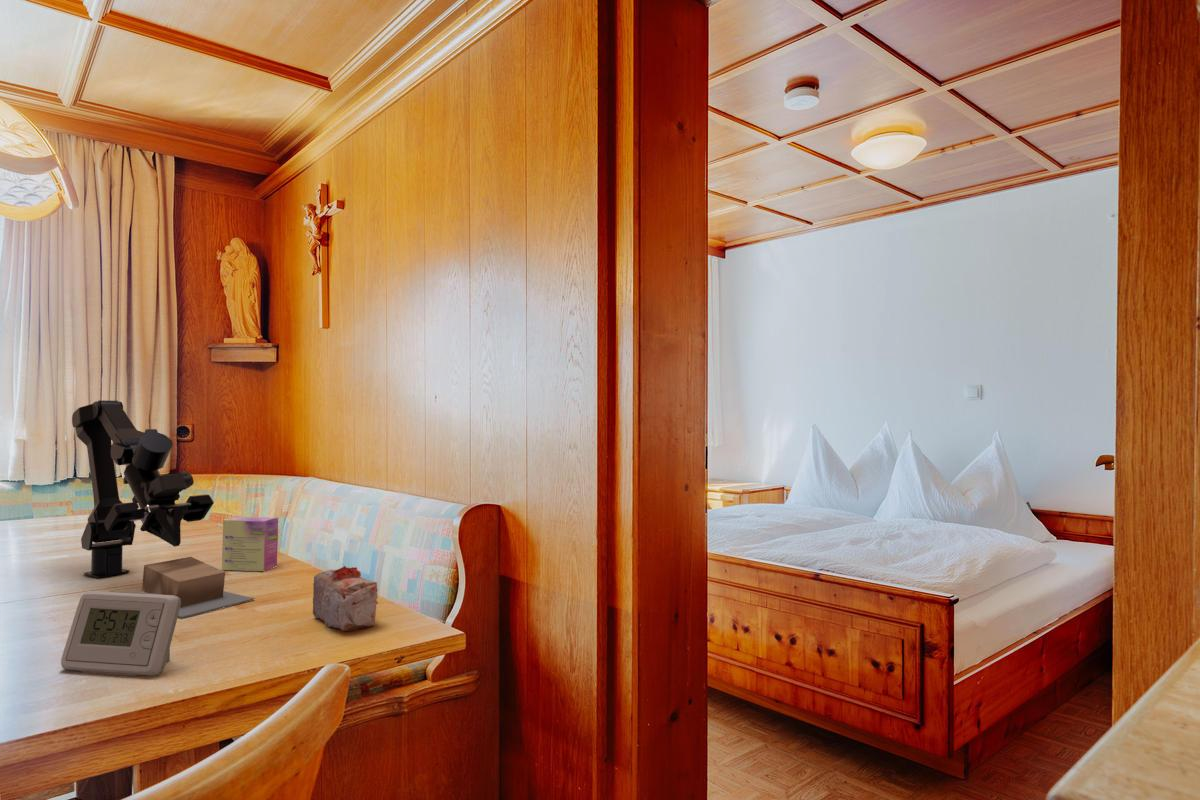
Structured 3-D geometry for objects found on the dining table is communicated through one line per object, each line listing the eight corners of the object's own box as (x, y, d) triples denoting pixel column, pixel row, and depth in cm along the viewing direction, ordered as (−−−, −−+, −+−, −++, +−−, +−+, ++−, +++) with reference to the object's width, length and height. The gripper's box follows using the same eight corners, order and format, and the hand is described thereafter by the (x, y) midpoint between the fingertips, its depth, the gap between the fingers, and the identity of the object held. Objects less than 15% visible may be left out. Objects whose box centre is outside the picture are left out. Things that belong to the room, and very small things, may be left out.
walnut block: (144, 565, 136) (178, 581, 130) (190, 556, 143) (225, 572, 137) (141, 590, 136) (176, 608, 130) (188, 580, 144) (222, 596, 138)
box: (278, 566, 166) (278, 516, 166) (264, 572, 160) (264, 520, 160) (236, 565, 167) (237, 515, 167) (221, 570, 161) (222, 519, 161)
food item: (384, 626, 121) (384, 570, 121) (340, 637, 115) (340, 578, 115) (346, 610, 131) (347, 557, 131) (304, 620, 125) (304, 564, 125)
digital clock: (53, 671, 100) (54, 597, 100) (115, 651, 108) (116, 582, 109) (133, 688, 94) (134, 609, 95) (192, 664, 103) (193, 592, 103)
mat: (136, 606, 132) (136, 598, 132) (209, 589, 144) (209, 582, 144) (181, 618, 125) (182, 610, 125) (254, 600, 137) (254, 592, 137)
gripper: (112, 462, 133) (143, 525, 127) (209, 456, 149) (240, 512, 143) (91, 500, 136) (120, 563, 131) (187, 491, 153) (217, 546, 147)
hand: (177, 544), depth 138 cm, fingers closed
